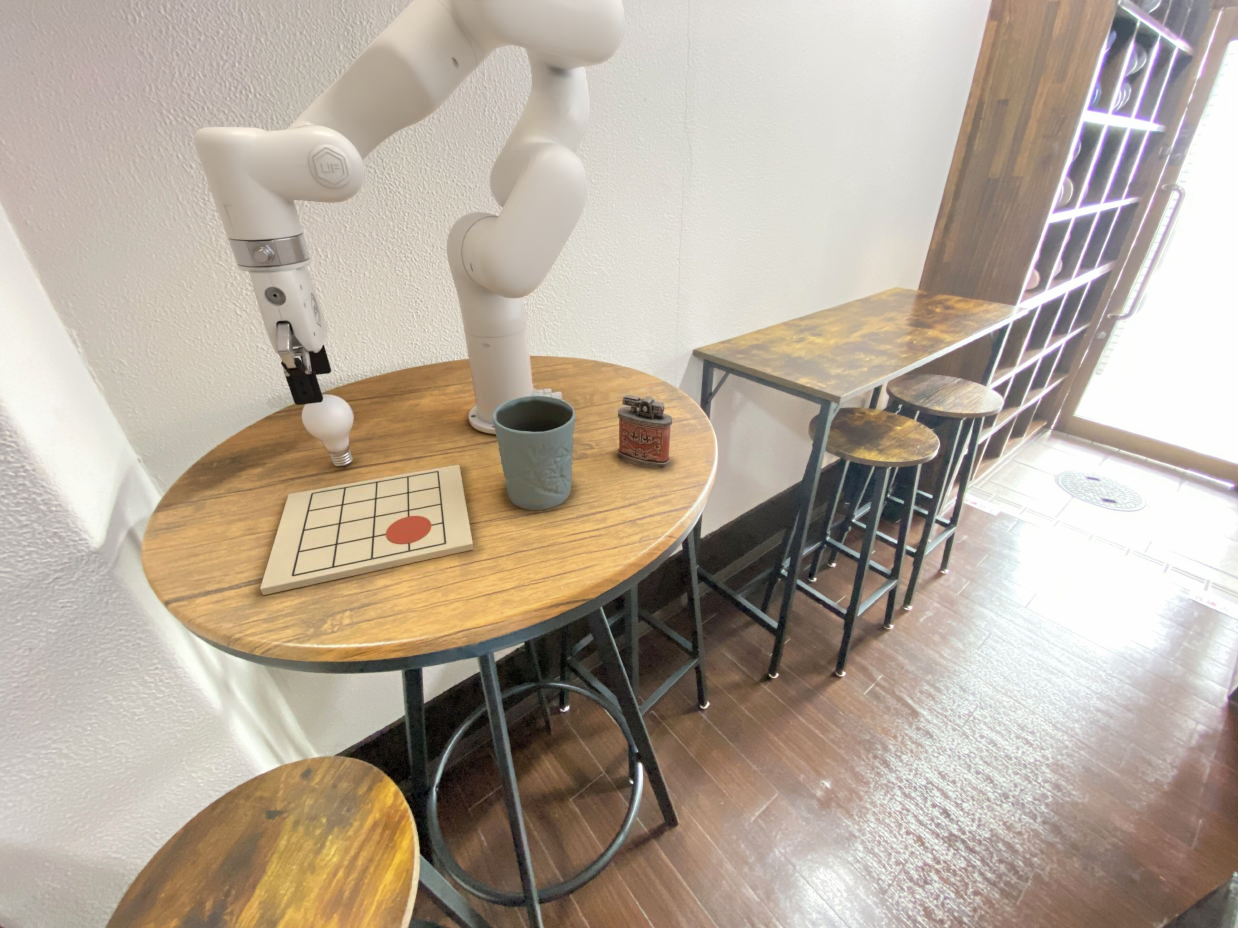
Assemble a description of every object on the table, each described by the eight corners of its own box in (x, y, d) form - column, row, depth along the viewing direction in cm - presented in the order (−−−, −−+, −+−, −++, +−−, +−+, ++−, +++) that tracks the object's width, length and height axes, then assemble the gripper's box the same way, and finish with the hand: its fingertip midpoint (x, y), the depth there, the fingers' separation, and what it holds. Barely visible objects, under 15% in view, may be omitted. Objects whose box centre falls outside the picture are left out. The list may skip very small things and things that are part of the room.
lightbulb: (337, 481, 74) (313, 411, 68) (311, 468, 77) (285, 400, 71) (376, 460, 79) (356, 393, 73) (349, 449, 82) (328, 383, 76)
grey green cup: (496, 480, 75) (484, 402, 68) (565, 464, 78) (560, 389, 72) (514, 522, 67) (502, 439, 60) (589, 502, 70) (586, 422, 64)
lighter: (672, 459, 79) (676, 398, 74) (664, 471, 76) (668, 409, 71) (623, 448, 82) (623, 388, 77) (614, 458, 79) (613, 397, 74)
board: (460, 469, 77) (459, 463, 76) (473, 549, 63) (472, 542, 62) (290, 499, 71) (288, 493, 70) (263, 595, 57) (259, 588, 56)
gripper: (295, 266, 56) (339, 411, 65) (316, 238, 70) (350, 361, 79) (213, 270, 54) (270, 420, 63) (251, 240, 68) (293, 367, 77)
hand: (314, 387), depth 71 cm, fingers open, 9 cm apart
